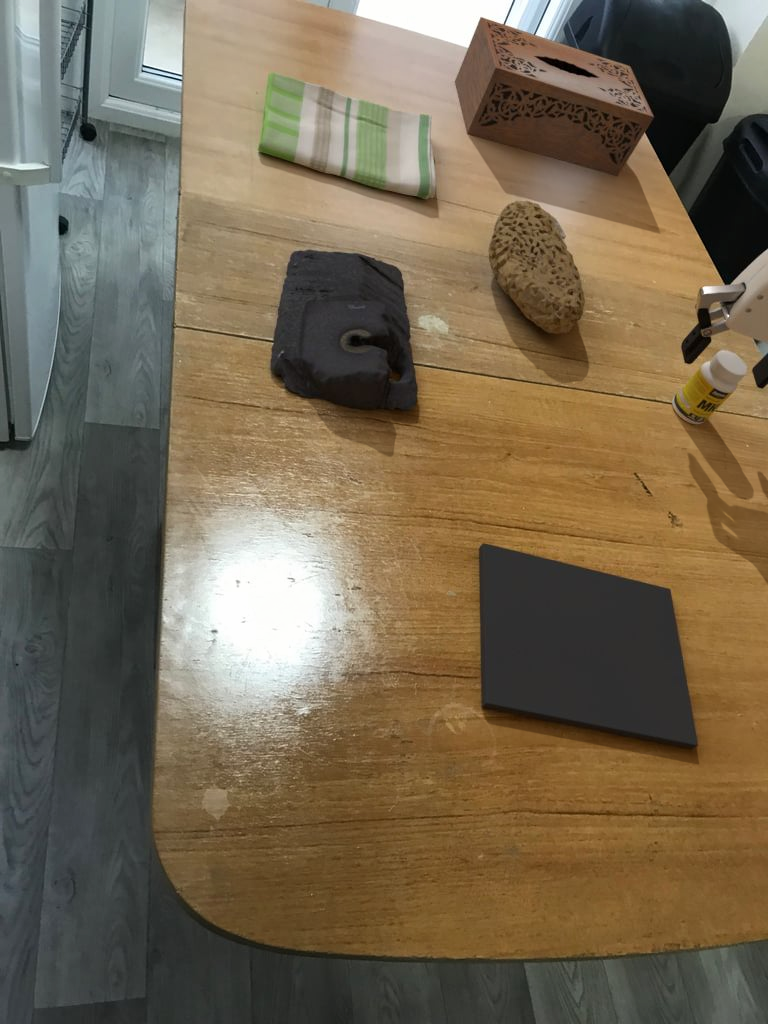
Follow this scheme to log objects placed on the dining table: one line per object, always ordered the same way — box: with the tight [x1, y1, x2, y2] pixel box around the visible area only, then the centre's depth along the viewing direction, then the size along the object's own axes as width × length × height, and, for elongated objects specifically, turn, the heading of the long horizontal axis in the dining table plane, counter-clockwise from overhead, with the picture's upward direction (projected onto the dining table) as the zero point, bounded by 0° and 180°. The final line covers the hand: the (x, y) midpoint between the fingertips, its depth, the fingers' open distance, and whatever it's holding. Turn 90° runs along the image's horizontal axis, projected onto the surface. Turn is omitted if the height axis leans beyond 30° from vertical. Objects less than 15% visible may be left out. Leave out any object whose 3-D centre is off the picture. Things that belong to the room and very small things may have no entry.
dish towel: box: [257, 71, 437, 200], centre depth 110 cm, size 17×23×4 cm
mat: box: [478, 542, 699, 750], centre depth 76 cm, size 20×16×1 cm
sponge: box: [487, 200, 586, 335], centre depth 103 cm, size 13×8×20 cm
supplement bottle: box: [671, 349, 748, 425], centre depth 99 cm, size 5×5×8 cm
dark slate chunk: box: [269, 249, 419, 411], centre depth 88 cm, size 15×22×5 cm
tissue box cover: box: [454, 16, 655, 177], centre depth 127 cm, size 26×14×10 cm, turn 95°
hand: (721, 367), depth 96 cm, fingers open, 9 cm apart
